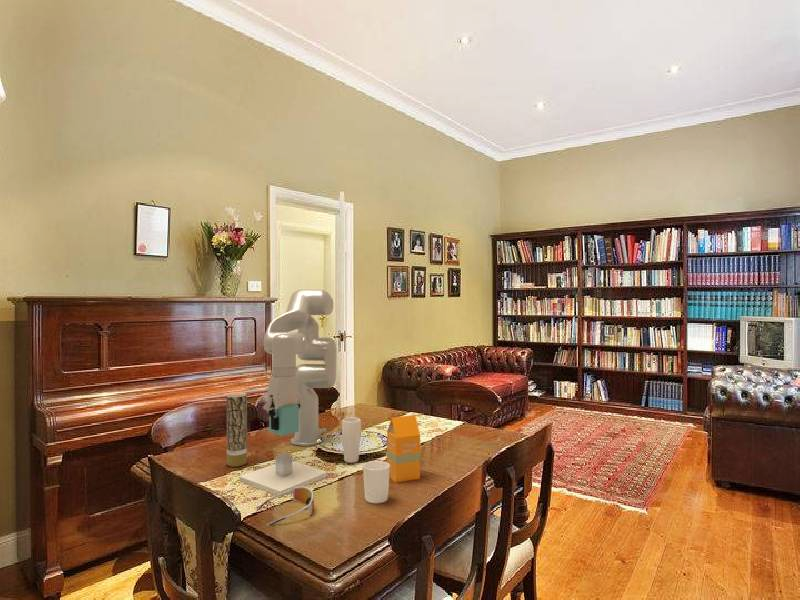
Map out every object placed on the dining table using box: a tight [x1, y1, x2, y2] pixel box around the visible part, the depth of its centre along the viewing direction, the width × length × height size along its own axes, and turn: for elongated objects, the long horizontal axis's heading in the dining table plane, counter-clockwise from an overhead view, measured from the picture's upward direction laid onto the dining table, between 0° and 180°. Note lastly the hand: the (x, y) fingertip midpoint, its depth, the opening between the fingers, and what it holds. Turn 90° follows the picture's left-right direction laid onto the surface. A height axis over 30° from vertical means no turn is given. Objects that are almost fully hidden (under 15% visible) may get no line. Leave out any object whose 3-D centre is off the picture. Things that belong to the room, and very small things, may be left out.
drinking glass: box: [341, 416, 362, 464], centre depth 178 cm, size 7×7×15 cm
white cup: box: [362, 460, 390, 504], centre depth 145 cm, size 8×8×10 cm
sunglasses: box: [255, 486, 315, 526], centre depth 137 cm, size 14×15×5 cm
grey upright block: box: [275, 452, 293, 477], centre depth 160 cm, size 4×4×6 cm
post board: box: [238, 460, 329, 497], centre depth 160 cm, size 20×20×2 cm
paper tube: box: [226, 391, 248, 468], centre depth 174 cm, size 7×7×25 cm
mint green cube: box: [268, 405, 299, 437], centre depth 160 cm, size 7×7×9 cm
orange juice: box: [386, 414, 421, 483], centre depth 163 cm, size 8×9×20 cm
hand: (283, 426), depth 160 cm, fingers closed on mint green cube, 6 cm apart
